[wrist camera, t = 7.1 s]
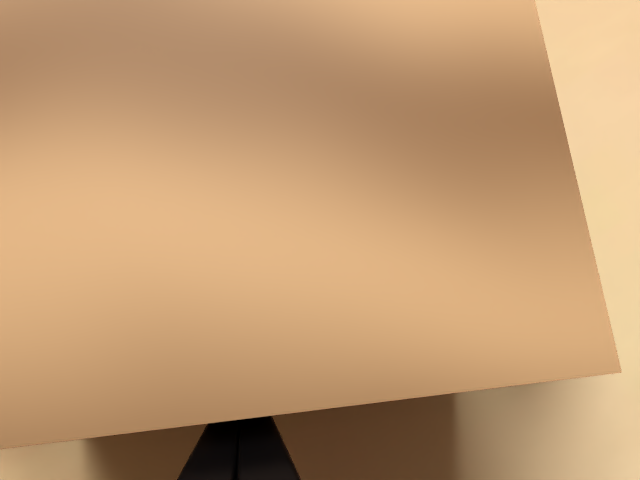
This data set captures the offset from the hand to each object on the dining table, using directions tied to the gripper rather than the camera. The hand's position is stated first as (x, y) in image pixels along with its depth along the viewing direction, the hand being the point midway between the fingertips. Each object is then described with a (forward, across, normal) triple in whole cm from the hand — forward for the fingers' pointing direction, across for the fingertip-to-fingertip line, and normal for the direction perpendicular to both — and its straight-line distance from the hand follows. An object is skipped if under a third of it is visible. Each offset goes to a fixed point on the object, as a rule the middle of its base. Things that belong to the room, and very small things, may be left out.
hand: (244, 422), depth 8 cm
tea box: (+8, 0, +1) cm, 9 cm away
